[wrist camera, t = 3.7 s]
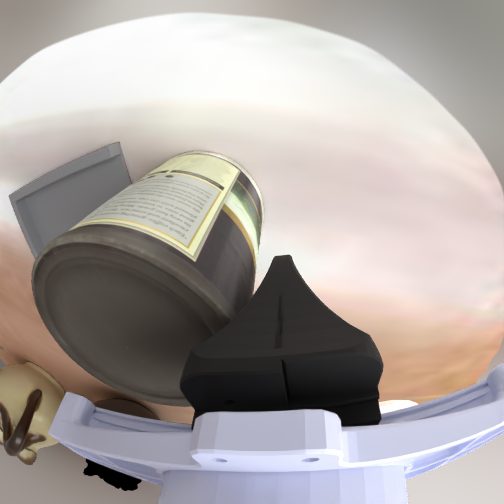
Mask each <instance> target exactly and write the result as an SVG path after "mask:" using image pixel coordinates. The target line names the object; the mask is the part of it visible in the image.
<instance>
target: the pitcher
mask: <svg viewBox="0 0 504 504" xmlns="http://www.w3.org/2000/svg"><path fill="white" fill-rule="evenodd" d="M63 398H64V389H63V387H62V386H61V385H60V384H59V383H58V382H57V381H56V380H55V379H54V378H53V377H52V376H51V375H50V374H49V373H47V372H46V371H45V370H43V369H42V368H40V367H39V366H37V365H36V364H34V363H31V362H26V363H25V364H14V365H8V366H5V367H3V368H1V369H0V444H1V445H3V446H4V448H5V450H6V452H7V454H9V455H10V456H17V457H18V458H19V459H20V460H21V461H22V462H24V463H25V464H27V465H32V464H33V462H35V460H36V458H37V450H38V449H39V448H42V447H46V446H50V445H54V444H56V443H59V441H58V440H56V439H55V438H53V437H52V436H51V435H49V433H48V431H49V429H50V426H51V424H52V422H53V419H54V417H55V415H56V413H57V411H58V409H59V406H60V404H61V402H62V400H63Z"/></svg>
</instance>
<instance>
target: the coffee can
mask: <svg viewBox="0 0 504 504" xmlns="http://www.w3.org/2000/svg"><path fill="white" fill-rule="evenodd" d="M263 220H264V206H263V201H262V197H261V194H260V191H259V189H258V187H257V185H256V183H255V182H254V180H253V179H252V178H251V176H250V175H249V174H248V173H247V171H245V170H244V169H243V168H242V167H241V166H240V165H239V164H237V163H236V162H234V161H233V160H231V159H229V158H227V157H225V156H223V155H220V154H216V153H212V152H206V151H191V152H186V153H183V154H179V155H177V156H174V157H173V158H171V159H169V160H167V161H166V162H165V163H163V164H162V165H161V166H159V167H158V168H156V169H155V170H153V171H151V172H150V173H148V174H147V175H145V176H144V177H142V178H140V179H139V180H137V181H136V182H134V183H133V184H131V185H130V186H128V187H127V188H125V189H124V190H123V191H121V192H120V193H118V194H117V195H115V196H114V197H112V198H111V199H110V200H108V201H107V202H105V203H104V204H103V205H101V206H100V207H99V208H97V209H96V210H95V211H93V212H92V213H91V214H89V215H88V216H87V217H85V218H84V219H83V220H82V221H80V222H79V223H78V224H76V225H75V226H74V227H73V228H71V229H70V230H69V231H68V232H65V233H63V234H61V235H59V236H58V237H56V238H55V239H53V240H52V241H50V242H49V243H48V244H47V245H46V246H45V247H44V248H43V249H42V250H41V251H40V253H39V254H38V256H37V258H36V260H35V262H34V266H33V270H32V280H31V282H32V291H33V296H34V300H35V304H36V306H37V309H38V312H39V314H40V316H41V318H42V320H43V322H44V324H45V326H46V327H47V329H48V330H49V332H50V333H51V335H52V336H53V338H54V339H55V341H56V342H57V343H58V344H59V346H60V347H61V348H62V349H63V350H64V351H65V352H66V353H67V354H68V355H69V356H70V357H71V358H72V359H73V360H74V361H75V362H76V363H77V364H78V365H80V366H81V367H82V368H83V369H84V370H86V371H87V372H88V373H90V374H91V375H92V376H94V377H95V378H97V379H99V380H100V381H102V382H103V383H105V384H107V385H109V386H110V387H112V388H114V389H116V390H118V391H121V392H123V393H125V394H127V395H130V396H132V397H135V398H138V399H141V400H145V401H148V402H152V403H157V404H162V405H169V406H182V407H192V405H191V404H190V403H189V402H188V400H187V399H186V398H185V396H184V395H183V394H182V392H181V390H180V388H179V387H180V379H181V376H182V372H183V369H184V366H185V363H186V360H187V358H188V356H189V354H190V351H191V349H193V348H194V347H196V346H198V345H199V344H201V343H203V342H204V341H206V340H207V339H209V338H210V337H212V336H213V335H215V334H216V333H217V332H219V331H220V330H221V329H222V328H224V327H225V326H226V325H227V324H228V323H229V322H231V321H232V320H233V319H234V318H235V317H236V316H237V314H238V313H239V312H240V311H241V310H242V309H243V308H244V307H245V306H246V304H247V303H248V302H249V301H250V299H251V298H252V297H253V290H254V282H255V274H256V267H257V259H258V251H259V244H260V235H261V230H262V226H263Z"/></svg>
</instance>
